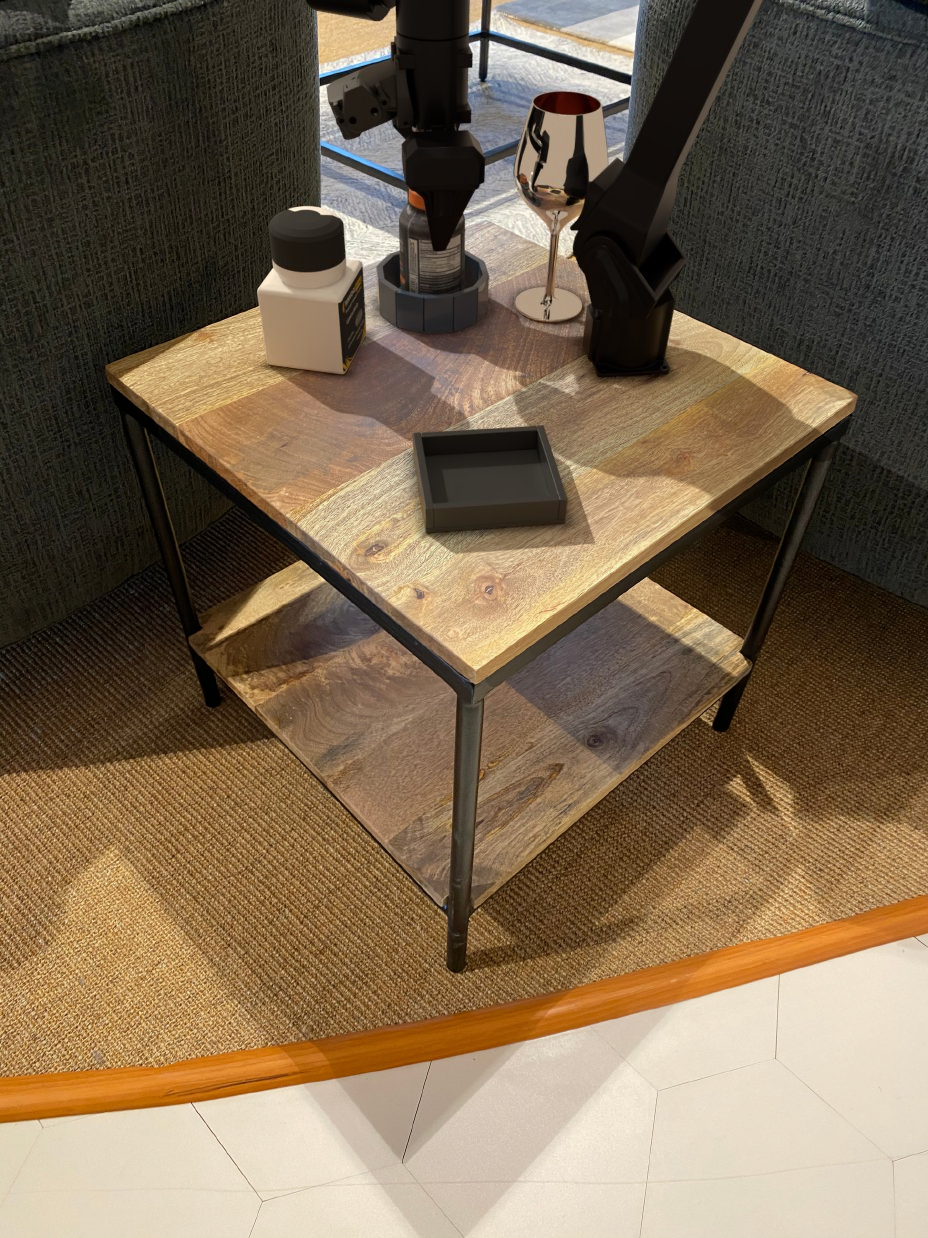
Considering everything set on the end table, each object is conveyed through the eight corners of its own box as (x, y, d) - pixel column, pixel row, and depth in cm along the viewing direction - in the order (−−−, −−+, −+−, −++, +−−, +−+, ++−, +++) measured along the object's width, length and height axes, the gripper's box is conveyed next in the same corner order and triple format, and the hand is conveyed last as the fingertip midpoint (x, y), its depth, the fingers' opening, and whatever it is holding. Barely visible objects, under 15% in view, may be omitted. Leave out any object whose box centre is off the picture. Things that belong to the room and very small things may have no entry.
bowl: (478, 277, 97) (479, 243, 95) (493, 330, 90) (495, 294, 88) (375, 281, 96) (373, 247, 94) (382, 335, 89) (381, 299, 87)
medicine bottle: (345, 376, 85) (335, 240, 76) (266, 365, 85) (247, 230, 77) (367, 334, 89) (360, 202, 81) (292, 324, 90) (277, 193, 82)
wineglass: (487, 303, 94) (496, 100, 81) (545, 276, 98) (562, 79, 85) (551, 336, 90) (571, 128, 77) (608, 306, 94) (637, 104, 81)
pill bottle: (413, 285, 96) (412, 166, 88) (471, 296, 95) (475, 176, 87) (391, 314, 92) (387, 192, 84) (452, 325, 91) (453, 203, 83)
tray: (541, 448, 78) (543, 424, 76) (565, 523, 72) (568, 499, 70) (413, 455, 77) (412, 432, 75) (425, 533, 71) (425, 509, 69)
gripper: (324, -2, 82) (338, 187, 94) (333, 71, 69) (347, 280, 81) (456, -4, 84) (454, 183, 95) (489, 68, 71) (482, 274, 82)
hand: (433, 226), depth 88 cm, fingers open, 9 cm apart
